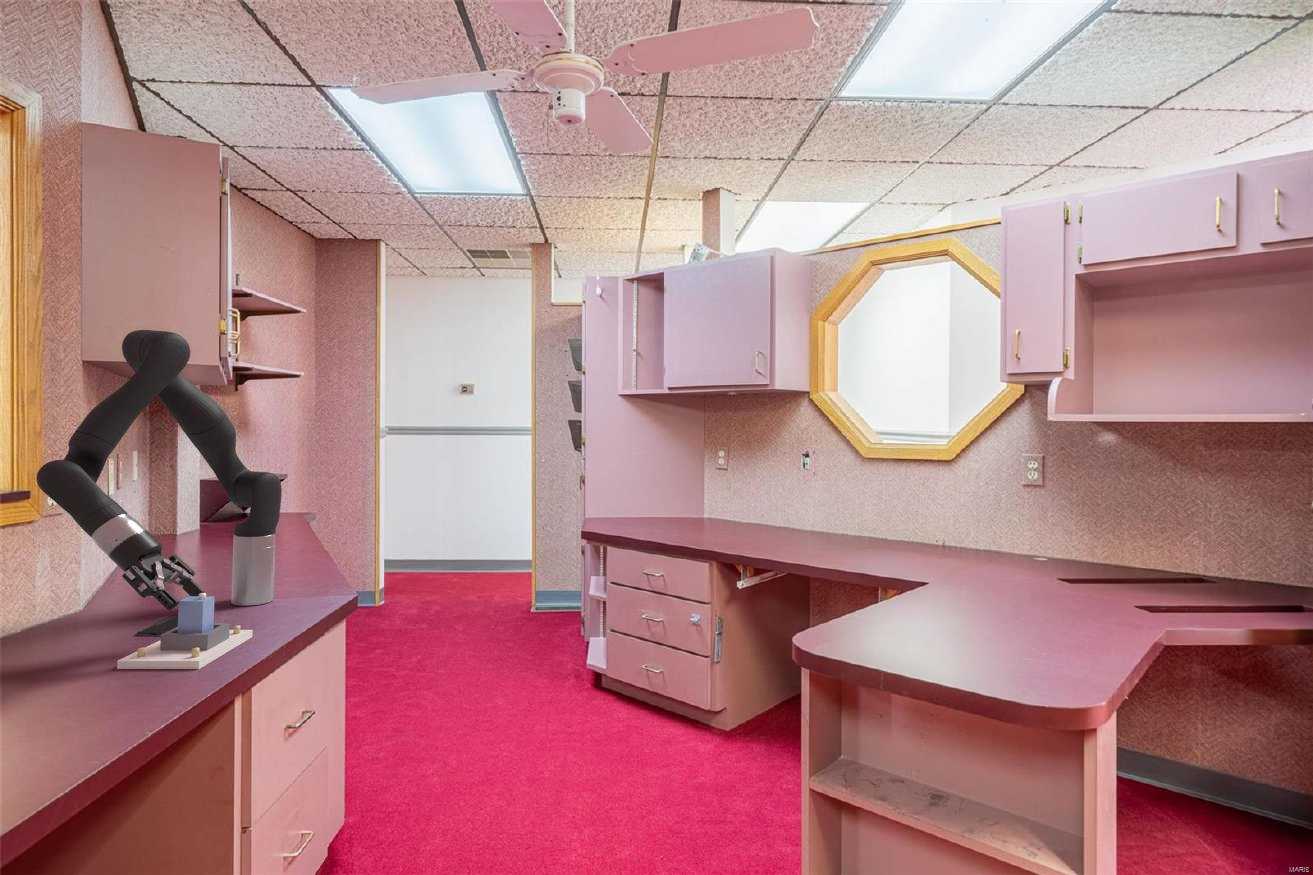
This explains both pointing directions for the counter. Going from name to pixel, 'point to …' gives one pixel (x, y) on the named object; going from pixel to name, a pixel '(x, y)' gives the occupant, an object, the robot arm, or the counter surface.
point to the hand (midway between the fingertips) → (187, 601)
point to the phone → (160, 627)
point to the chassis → (186, 649)
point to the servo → (196, 614)
